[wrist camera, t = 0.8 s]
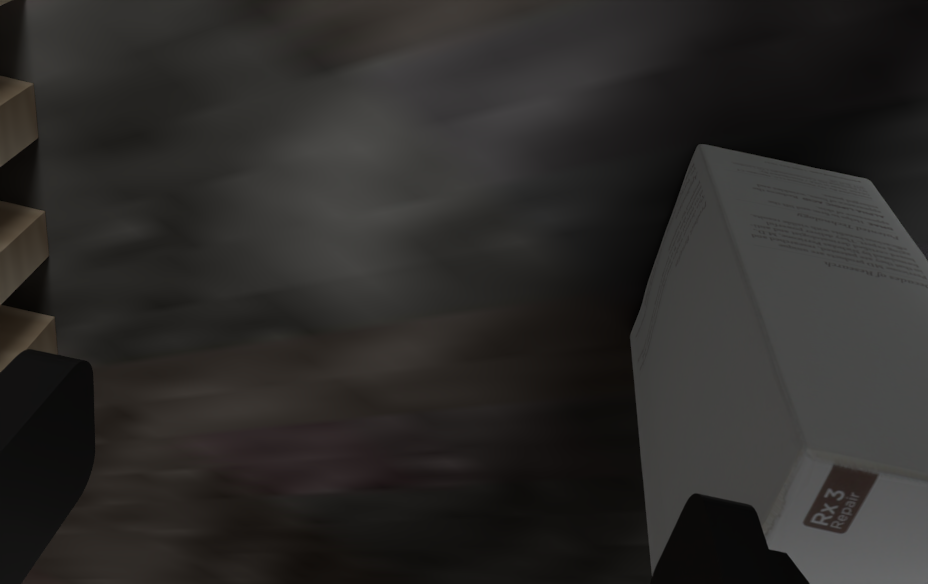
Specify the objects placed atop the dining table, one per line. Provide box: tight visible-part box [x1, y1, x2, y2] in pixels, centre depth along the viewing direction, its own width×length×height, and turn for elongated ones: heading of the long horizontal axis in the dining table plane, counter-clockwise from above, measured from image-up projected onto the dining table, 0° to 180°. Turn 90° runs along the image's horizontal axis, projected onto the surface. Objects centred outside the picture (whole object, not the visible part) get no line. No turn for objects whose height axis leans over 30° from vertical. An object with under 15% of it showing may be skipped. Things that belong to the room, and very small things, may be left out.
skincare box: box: [630, 144, 928, 584], centre depth 22 cm, size 8×6×15 cm
